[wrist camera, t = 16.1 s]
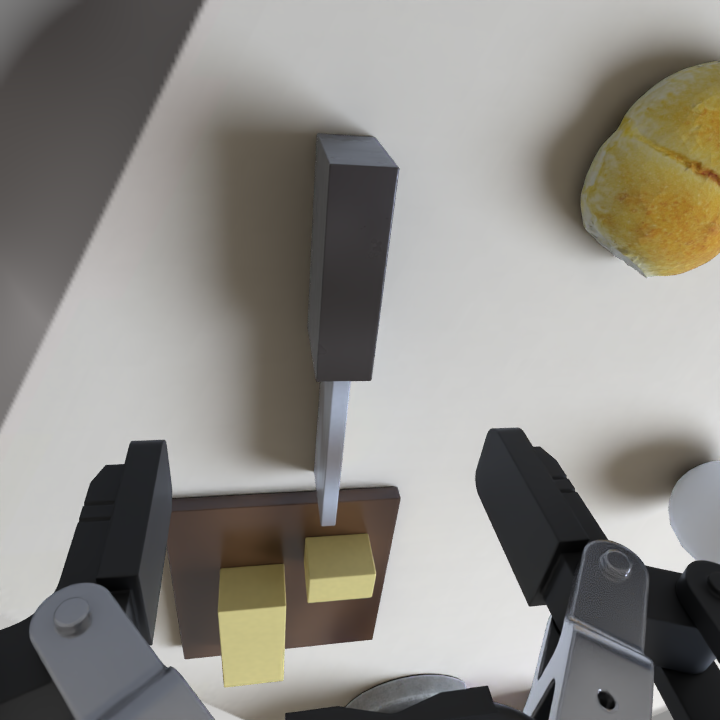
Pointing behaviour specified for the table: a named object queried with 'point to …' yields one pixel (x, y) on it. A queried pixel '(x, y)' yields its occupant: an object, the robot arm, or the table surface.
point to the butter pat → (338, 568)
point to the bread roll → (661, 177)
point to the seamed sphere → (698, 511)
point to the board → (273, 560)
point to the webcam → (404, 693)
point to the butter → (252, 624)
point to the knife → (345, 286)
